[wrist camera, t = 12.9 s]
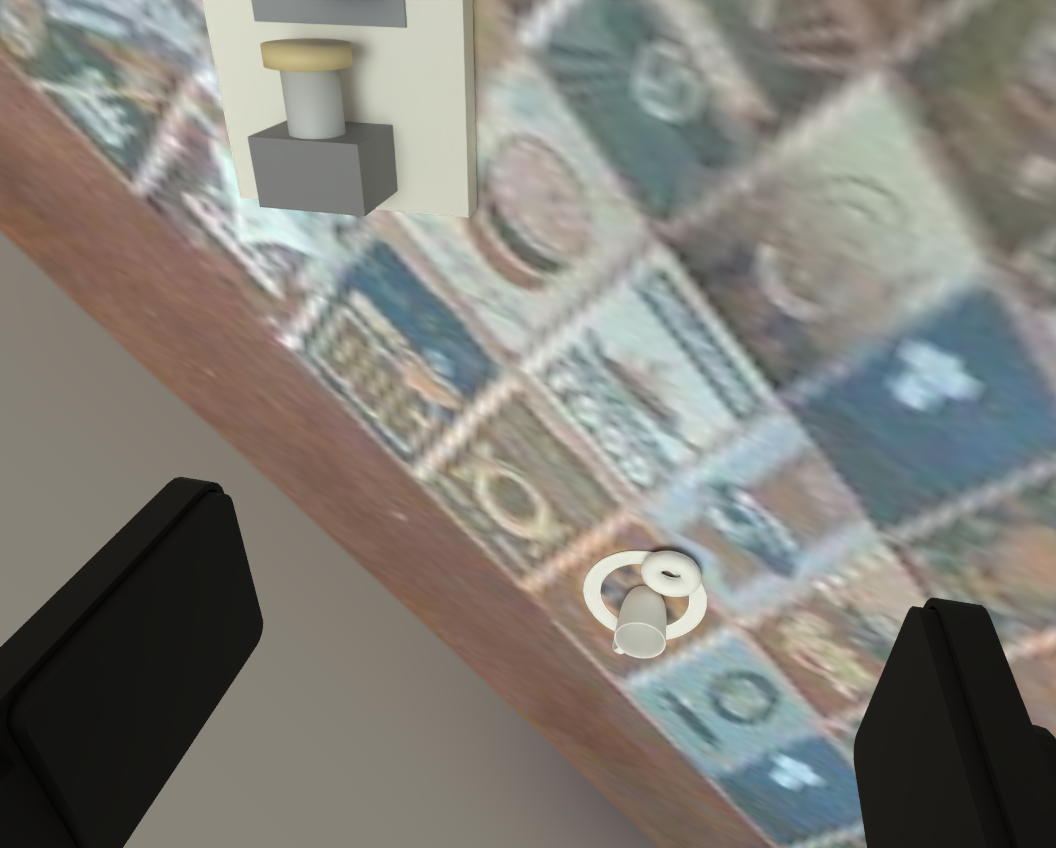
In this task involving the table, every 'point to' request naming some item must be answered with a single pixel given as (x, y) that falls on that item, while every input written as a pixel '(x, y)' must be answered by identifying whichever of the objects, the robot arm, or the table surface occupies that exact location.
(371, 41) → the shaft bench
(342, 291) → the table surface
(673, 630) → the teacup and saucer
